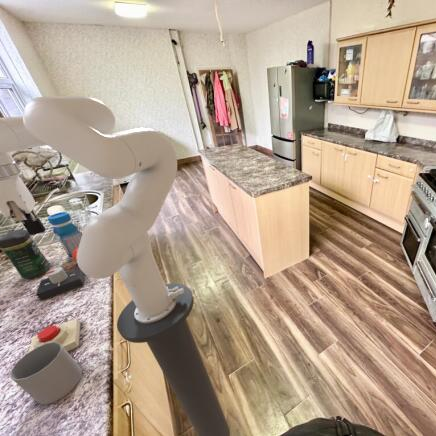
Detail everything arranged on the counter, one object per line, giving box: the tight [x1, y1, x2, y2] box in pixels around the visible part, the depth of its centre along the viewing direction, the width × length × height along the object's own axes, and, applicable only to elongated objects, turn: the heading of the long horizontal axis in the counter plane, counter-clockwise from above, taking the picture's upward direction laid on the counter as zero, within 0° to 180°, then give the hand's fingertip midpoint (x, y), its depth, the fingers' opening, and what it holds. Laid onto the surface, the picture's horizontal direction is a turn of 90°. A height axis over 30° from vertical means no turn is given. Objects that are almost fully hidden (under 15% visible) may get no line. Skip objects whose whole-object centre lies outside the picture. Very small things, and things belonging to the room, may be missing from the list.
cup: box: [9, 342, 83, 406], centre depth 54 cm, size 8×8×10 cm
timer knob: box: [45, 266, 68, 284], centre depth 86 cm, size 4×4×4 cm
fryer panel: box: [35, 267, 85, 301], centre depth 87 cm, size 12×9×3 cm
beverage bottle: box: [47, 211, 83, 260], centre depth 102 cm, size 8×8×20 cm
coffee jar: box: [0, 228, 51, 280], centre depth 92 cm, size 10×8×19 cm
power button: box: [37, 324, 60, 342], centre depth 64 cm, size 4×4×2 cm
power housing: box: [27, 317, 81, 353], centre depth 65 cm, size 10×10×4 cm
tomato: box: [72, 248, 78, 263], centre depth 100 cm, size 8×7×7 cm
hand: (38, 232), depth 69 cm, fingers closed
